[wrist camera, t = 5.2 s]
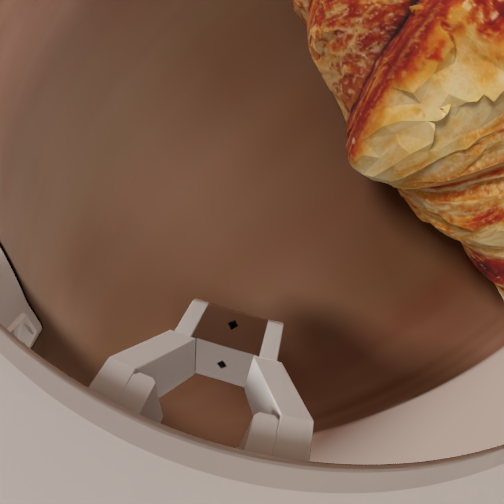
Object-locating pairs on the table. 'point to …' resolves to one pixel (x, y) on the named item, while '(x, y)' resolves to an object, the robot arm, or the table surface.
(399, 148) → the croissant
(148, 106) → the table surface
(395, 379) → the table surface
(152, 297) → the table surface
